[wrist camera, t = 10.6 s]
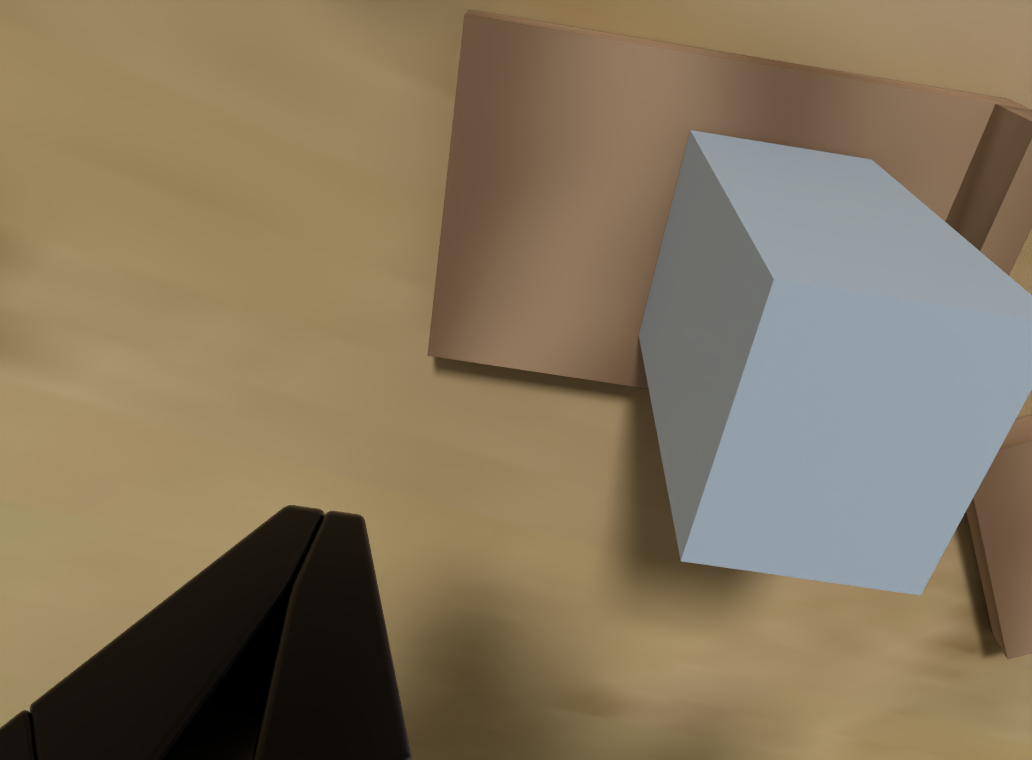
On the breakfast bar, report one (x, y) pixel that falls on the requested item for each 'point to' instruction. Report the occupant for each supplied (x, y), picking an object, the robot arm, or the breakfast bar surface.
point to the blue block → (824, 366)
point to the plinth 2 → (1007, 539)
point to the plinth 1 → (661, 177)
